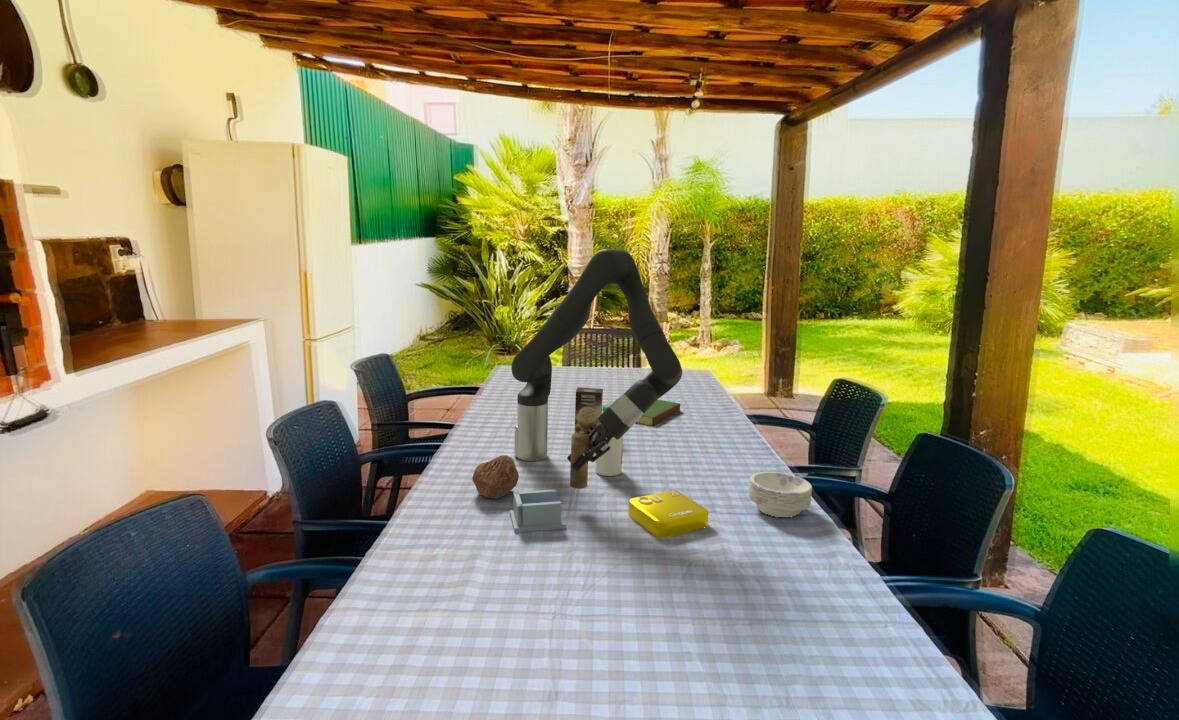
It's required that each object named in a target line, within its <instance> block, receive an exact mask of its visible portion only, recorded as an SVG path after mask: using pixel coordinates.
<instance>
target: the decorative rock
mask: <svg viewBox="0 0 1179 720" xmlns="http://www.w3.org/2000/svg"><path fill="white" fill-rule="evenodd" d="M519 477H520V475H519V472H518V469H517V466H516V463H515V460H514V458H512V457H511V456H509V455H507V454H506V455H505V454H502V455H499V456H497V457H495V458H492V460H489V461H486V462H481V463H480V464H479V465H477V466H476V467H475V469H474V471H473V475H472V482H473V484H474V486H475V488H476V491H477V492H478V494H479V495H480V496H483V497H485V498H488V499H500V498H502V497H503V496H505V495H507V494H509V492H511V491H512V490H513V489H514V488H516V486H517V484H518V482H519Z"/></svg>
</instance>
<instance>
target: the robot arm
mask: <svg viewBox="0 0 1179 720" xmlns="http://www.w3.org/2000/svg"><path fill="white" fill-rule="evenodd" d="M608 285H617V287H618V288H619V289H620V290H621V292H622V294H623V295H624V297H625V300H626V303H627V311H628V312H627V313H628V322H629V327H630V329H631V332H632V335H633V336H634V338H635V340H636V342H637V344H638V346H639V348H640V349H641V351H642V353H644V355H645V358H646V359H647V363H648V364H649V368H650V370H651V371H650V372H649V373H648V374H647V375H646V376H645V377H644V378H643V379H639V380H637V381H636V382H634V383H633V384H632V385H631V386H630V387H629V388H627V390H626V391H625V392H624V393H623V394H622V395H620V396H619V397H618V398H616V400H615V399H614V401H613V402H612V403H610V404H611V405H610V406H609V407H608V408H607V409H606V410H605V411H604V412H603V411H602V412H603V413H602V414H601V415H600V416H599V417H598V421H599V422H600V423H601V424H600V425H598V426H597V427H595V428H594V427H593V426H592V425H591V426H590V427H589V428H588V429H587V430H586V432H585V433H584V434H588V435H589V443H588V444H587V446H586V447H587V448H586V449H585V451H584V452H583V453H582V455H580V456H579V457H578V458H577V459H576V460H575V461H574V462H573V463H572V464H571V453H569V455H568V456H567V460H568V461H569V462H570V466H572V468H573V469H575V470H576V471H578V470H579V469H580V468H581V467H582V466H583V465H584V464H585V463H586V462H587V461H588V462H591V463H594V462H596V460H597V459H598V458H599V457H601V456H602V455H603V454H605V453H606V452H607V451H609V450H610V447H609V446H608V443H609V442H610V440H611V439H612V438H613V437H614V438H615V439H617V440H618V439H620V438H621V437H622V436H623V437H624V435H625V434H626V433H627V432H628V431H629V430H630V429H632V427H633V426H634V425H635V424H636V422H637V421H638V420H639V419H640V417H641V416H642V415H643V413H645V412H646V411H647V410H648V409H649V408H650V407H651V406H652V405H653V404H654V402H655V401H656V400H660V399H661V398H662V397H663V396H664V395H666V394H667V393H668V392H670V391H671V390H672V389H674V388H675V386H676V385H677V384H678V383H679V382H680V380H681V379H682V376H683V368H682V364H681V362H680V360H679V358H678V356H677V355H676V353H675V351H674V350H673V348H672V346H671V344H670V343H669V342H668V340H667V337H666V335H665V332H664V330H663V328H662V327H661V325H660V323H659V321H658V319H657V317H656V315H655V313H654V311H653V309H652V306H651V304H650V301H649V299H648V296H647V294H646V290H645V288H644V285H643V282H642V279H641V276H640V272H639V270H638V267H637V265H636V261H635V259H634V258H633V256H632V255H631V253H629V252H628V251H626V250H623V249H614V248H602V249H600V250H598V251H596V253H594V254H593V255H592V256H591V259H590V260H589V262H588V263H587V264H586V266H585V268H584V270H583V271H582V273H581V275H580V276H579V278H578V279H577V281H576V282H575V284H574V285H573V286H572V288H570V290H569V291H568V292H567V294H566V295H565V297H564V298H563V299H562V301H560V303H559V304H558V305H557V306H556V307H555V309H554V310H553V311H552V313H551V314H550V315H549V316H548V318H547V319H546V321H545V322H544V323H543V324H542V326H541V327H540V328H539V329H538V331H537V332H536V333H535V335H534V336H533V337H532V338H531V340H529V342H527V344H526V345H525V346H523V347H522V349H520V350H519V351H518V352H517V353H516V355H515V356H514V357H513V359H512V363H511V374H512V376H513V378H514V379H515V380H517V382H521V383H525V386H524V387H522V389H521V390H520V391H519V392H518V393H517V404H516V405H517V406H516V407H517V418H516V420H517V425H515V427H514V457H516V458H518V459H520V460H522V461H527V462H528V461H529V462H537V461H542V460H545V459H546V458H548V437H549V436H548V433H549V432H548V425H549V424H548V422H549V421H548V420H549V419H548V418H549V397H550V394H551V390H552V378H553V377H552V376H553V364H552V359H551V356H550V355H552V354H553V353H554V352H556V351H557V350H559V349H560V348H562V347H563V346H565V345H567V344H568V343H569V342H571V341H572V340H573V339H574V338H575V337H577V335H578V334H579V333H580V332H581V330H582V329H583V328H584V327H585V325H586V324H587V323H588V321H589V319H590V314H591V310H592V309H591V308H592V304H593V301H594V300H595V298H596V297H597V295H598V294H599V293H600V292H601V291H602V290H603V289H604V288H605V287H607V286H608Z"/></svg>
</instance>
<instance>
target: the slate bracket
mask: <svg viewBox="0 0 1179 720" xmlns="http://www.w3.org/2000/svg"><path fill="white" fill-rule="evenodd" d="M509 515H510V520H511V524H512V528H513V531H514V532H513V533H515V532H516V533H525V532H538V531H547V530H548V531H550V530H562V529H564V530H565V529H566V528H567V524H566V521H565V520H564V517H563V515H562V501H560V500H557V490H556V489H541V490H529V491H528V490H527V491H526V490H524V491H513V509H512V510H511V509H510V510H509Z"/></svg>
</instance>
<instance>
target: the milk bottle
mask: <svg viewBox="0 0 1179 720" xmlns="http://www.w3.org/2000/svg"><path fill="white" fill-rule="evenodd" d="M611 404H612V403H606V404H602V413H603V412H604V411H605V410H606V409H607V408H608V407H609V406H610V405H611ZM600 424H601V423H600ZM623 443H624V435H623V436H622V437H621V438H620V439H618V440H617V439H615V438H614V437H613V438H612V439H611V440H610V442H609V443H608V446H609V447H610V450H609V451H607V452H606V453H605V454H603V455H602V456H601V457H599V458H598V459H597V460H595V472H596V473H597V474H598V475H599V476H603V477H615V476H619V475H621V474H622V472H623V448H624V447H623Z"/></svg>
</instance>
